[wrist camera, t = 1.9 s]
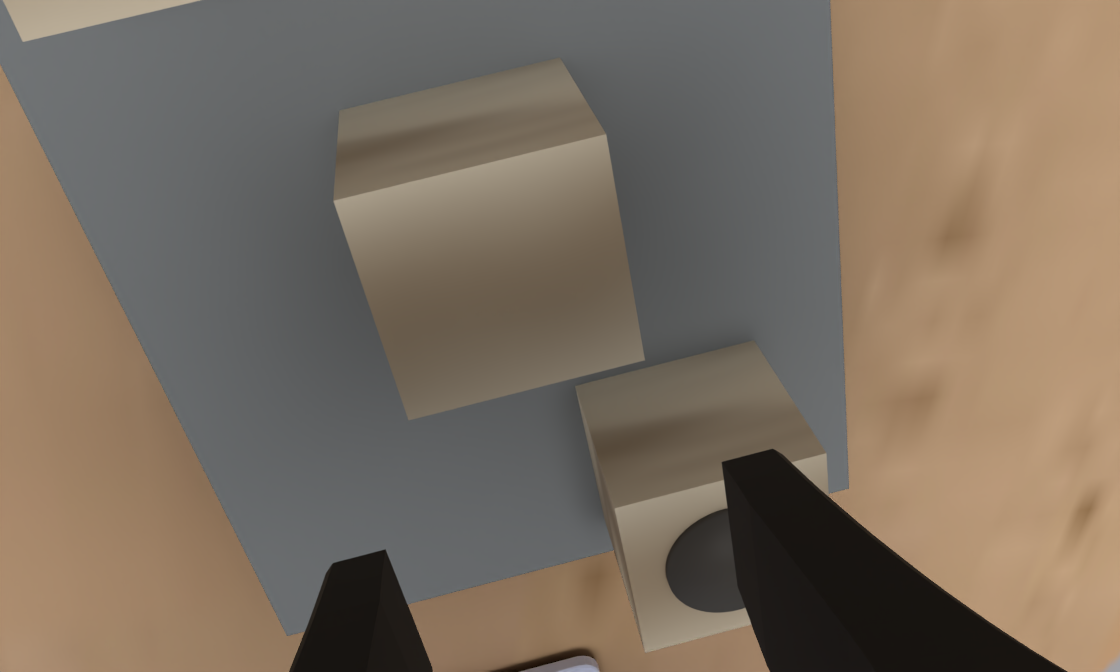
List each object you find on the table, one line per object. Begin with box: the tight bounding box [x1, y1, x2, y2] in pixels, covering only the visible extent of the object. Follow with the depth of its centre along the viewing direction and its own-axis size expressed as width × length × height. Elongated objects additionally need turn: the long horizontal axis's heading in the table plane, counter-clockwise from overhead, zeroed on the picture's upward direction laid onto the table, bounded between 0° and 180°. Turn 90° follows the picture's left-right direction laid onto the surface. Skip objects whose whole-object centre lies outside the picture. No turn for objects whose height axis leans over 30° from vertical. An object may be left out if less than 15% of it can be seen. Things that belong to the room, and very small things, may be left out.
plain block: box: [333, 58, 645, 420], centre depth 17 cm, size 4×4×4 cm
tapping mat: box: [0, 0, 849, 636], centre depth 19 cm, size 20×14×1 cm
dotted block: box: [575, 340, 829, 653], centre depth 21 cm, size 4×4×4 cm
